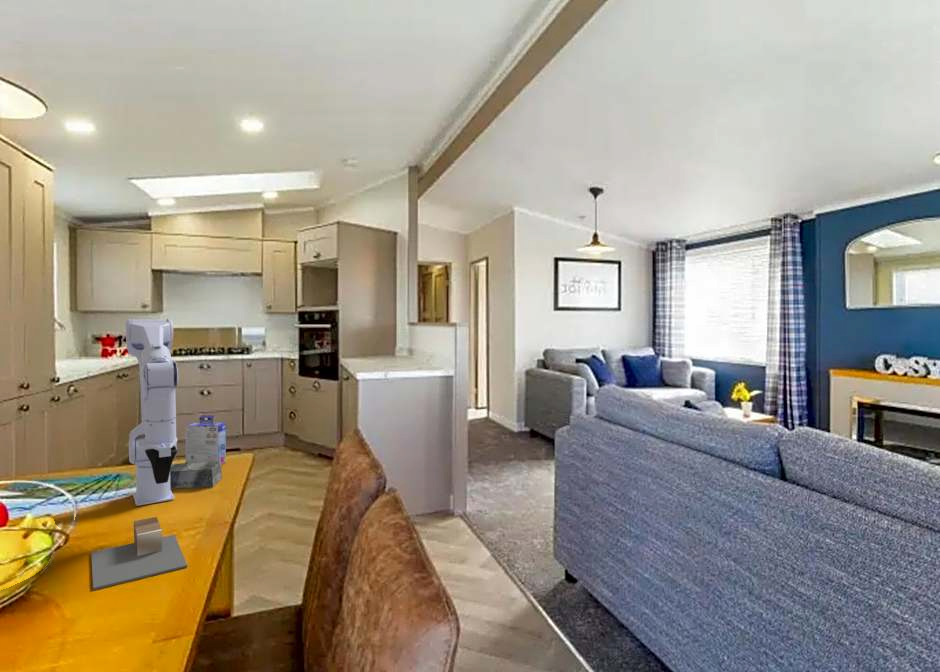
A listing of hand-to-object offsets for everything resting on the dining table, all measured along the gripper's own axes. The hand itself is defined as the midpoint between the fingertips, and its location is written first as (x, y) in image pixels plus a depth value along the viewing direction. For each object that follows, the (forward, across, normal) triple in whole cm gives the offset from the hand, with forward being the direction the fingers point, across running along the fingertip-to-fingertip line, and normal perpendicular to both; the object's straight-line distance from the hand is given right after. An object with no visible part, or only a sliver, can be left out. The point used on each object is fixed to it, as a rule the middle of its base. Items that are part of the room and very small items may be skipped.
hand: (161, 482), depth 114 cm
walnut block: (+7, +5, -4) cm, 10 cm away
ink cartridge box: (+10, -45, +16) cm, 49 cm away
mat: (+10, +14, -5) cm, 18 cm away
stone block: (+11, -29, +10) cm, 32 cm away
